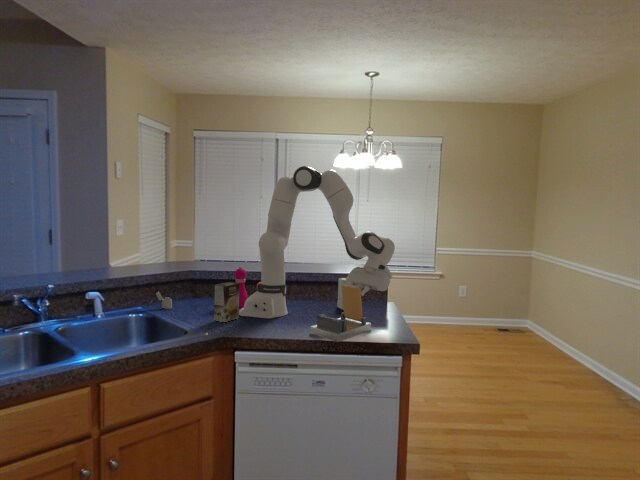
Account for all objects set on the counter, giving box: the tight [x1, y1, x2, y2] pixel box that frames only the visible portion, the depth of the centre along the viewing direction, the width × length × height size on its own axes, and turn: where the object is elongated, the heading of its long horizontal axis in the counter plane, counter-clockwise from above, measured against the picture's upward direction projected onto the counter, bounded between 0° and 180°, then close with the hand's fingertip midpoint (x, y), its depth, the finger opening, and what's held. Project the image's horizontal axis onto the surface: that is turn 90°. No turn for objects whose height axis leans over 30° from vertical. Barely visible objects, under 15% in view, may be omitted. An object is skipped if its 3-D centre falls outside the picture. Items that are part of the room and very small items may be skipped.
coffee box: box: [213, 281, 240, 323], centre depth 191 cm, size 9×6×16 cm
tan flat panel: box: [342, 285, 363, 322], centre depth 183 cm, size 15×9×1 cm
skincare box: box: [336, 277, 358, 311], centre depth 218 cm, size 8×6×15 cm
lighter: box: [155, 291, 173, 310], centre depth 207 cm, size 7×2×8 cm, turn 95°
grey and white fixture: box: [309, 311, 372, 343], centre depth 179 cm, size 22×14×7 cm, turn 138°
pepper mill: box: [234, 265, 249, 308], centre depth 216 cm, size 7×7×20 cm
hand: (359, 294), depth 187 cm, fingers closed
